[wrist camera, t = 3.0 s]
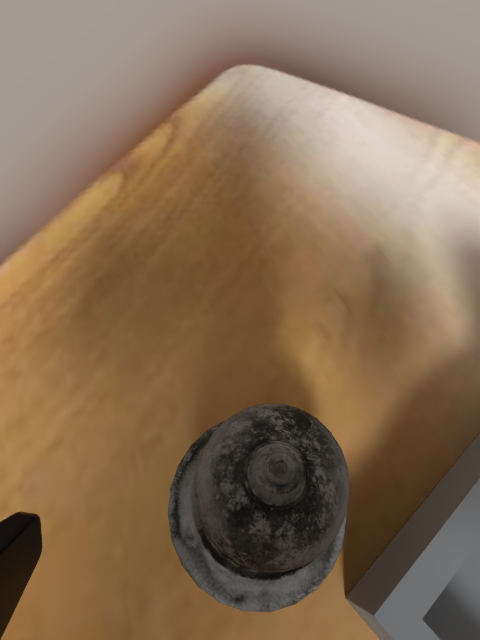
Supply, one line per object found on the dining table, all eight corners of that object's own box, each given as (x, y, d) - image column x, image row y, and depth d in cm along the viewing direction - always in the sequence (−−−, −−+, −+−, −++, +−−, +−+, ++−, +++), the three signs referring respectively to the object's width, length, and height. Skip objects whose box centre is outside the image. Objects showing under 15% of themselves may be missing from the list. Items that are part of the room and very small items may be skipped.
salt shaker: (151, 520, 16) (-23, 502, 5) (241, 408, 18) (246, 236, 7) (268, 635, 14) (356, 947, 4) (352, 495, 16) (562, 431, 6)
